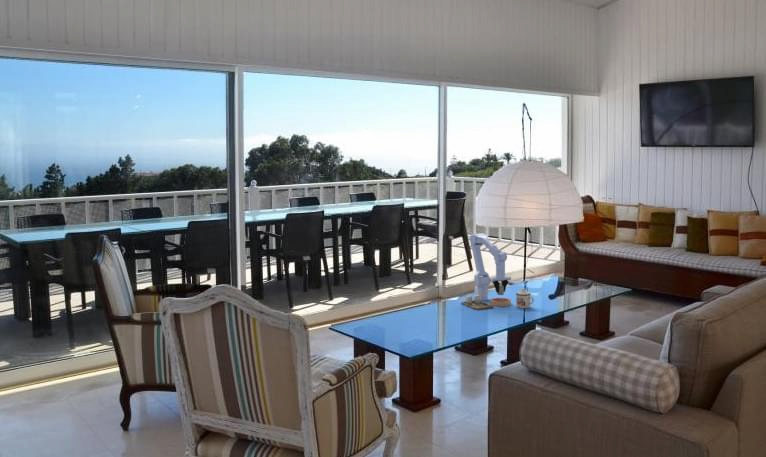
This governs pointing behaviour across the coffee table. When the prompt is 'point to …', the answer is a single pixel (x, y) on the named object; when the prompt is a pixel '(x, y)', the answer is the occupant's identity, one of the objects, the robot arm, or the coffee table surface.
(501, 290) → the grey rounded cylinder
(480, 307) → the tray
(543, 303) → the coffee table surface
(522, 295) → the teacup with lid
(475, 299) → the light stone
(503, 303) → the bowl
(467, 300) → the light stone
